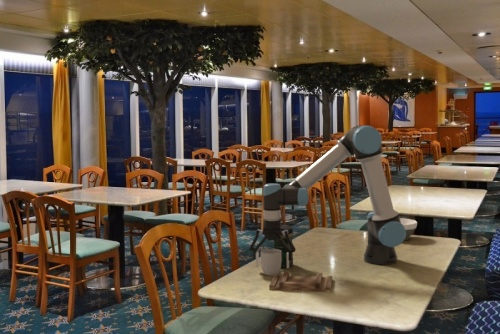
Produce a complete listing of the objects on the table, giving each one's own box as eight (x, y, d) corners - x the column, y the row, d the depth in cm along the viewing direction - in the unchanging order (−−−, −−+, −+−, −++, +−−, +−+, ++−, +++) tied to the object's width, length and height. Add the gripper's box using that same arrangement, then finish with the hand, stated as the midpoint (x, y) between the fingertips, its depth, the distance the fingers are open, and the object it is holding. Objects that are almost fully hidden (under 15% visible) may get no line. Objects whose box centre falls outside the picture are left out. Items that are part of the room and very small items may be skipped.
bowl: (375, 235, 310) (375, 218, 310) (408, 234, 312) (408, 217, 312) (387, 243, 291) (387, 225, 290) (423, 241, 293) (423, 224, 292)
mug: (276, 277, 234) (275, 254, 233) (257, 275, 239) (257, 252, 238) (288, 269, 245) (288, 247, 245) (270, 267, 250) (269, 246, 249)
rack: (332, 279, 229) (332, 273, 229) (330, 291, 214) (330, 284, 213) (275, 277, 234) (274, 271, 234) (269, 289, 218) (269, 282, 218)
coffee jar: (285, 269, 247) (285, 228, 245) (270, 266, 251) (269, 226, 249) (296, 264, 255) (295, 224, 253) (281, 261, 259) (280, 223, 257)
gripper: (301, 218, 241) (301, 265, 243) (245, 217, 246) (246, 263, 248) (299, 221, 234) (300, 270, 236) (242, 220, 239) (243, 268, 240)
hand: (272, 267), depth 242 cm, fingers open, 13 cm apart
